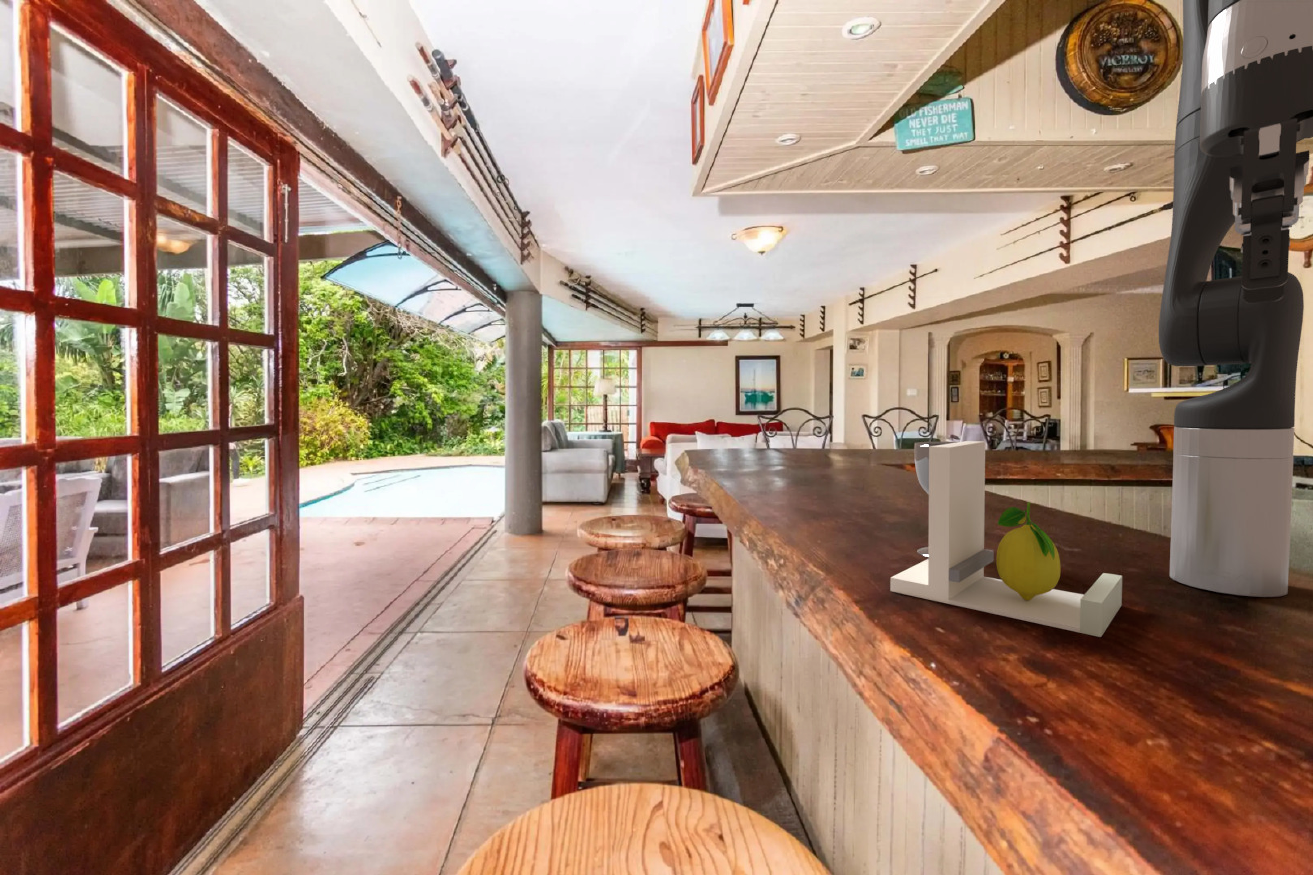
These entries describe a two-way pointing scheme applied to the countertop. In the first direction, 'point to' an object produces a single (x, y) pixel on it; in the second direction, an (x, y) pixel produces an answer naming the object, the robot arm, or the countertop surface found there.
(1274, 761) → the countertop surface
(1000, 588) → the white lipped stand
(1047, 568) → the lemon
